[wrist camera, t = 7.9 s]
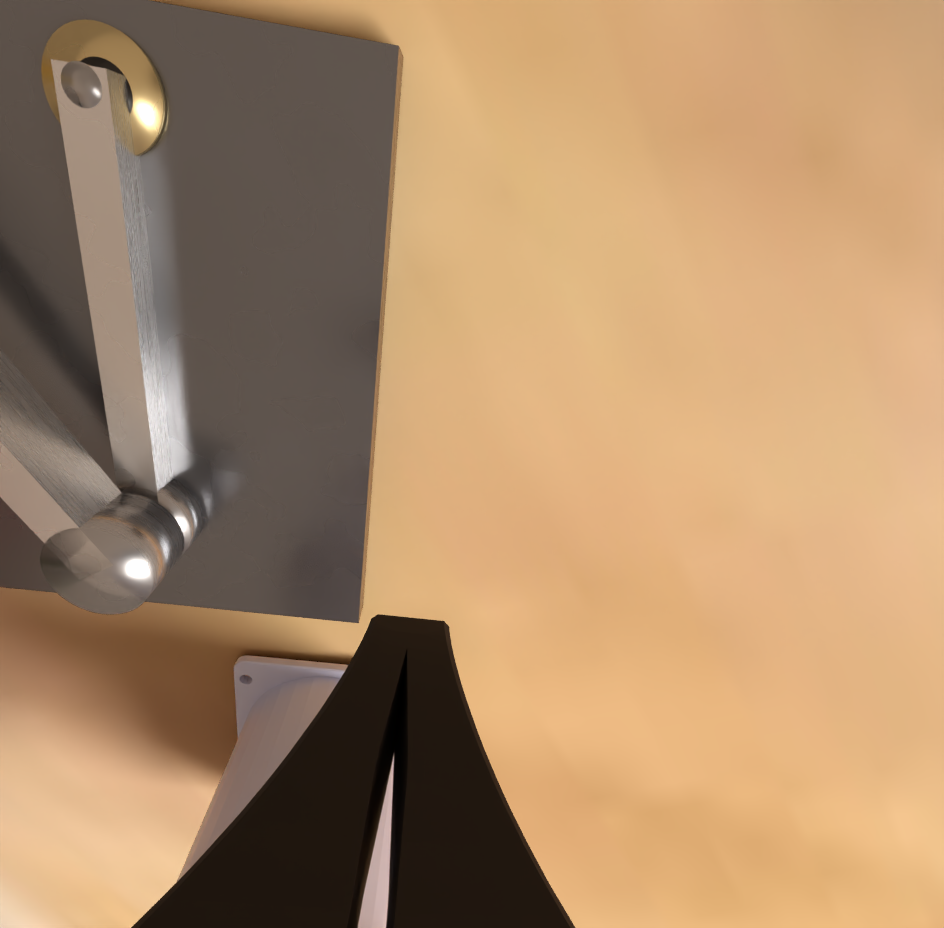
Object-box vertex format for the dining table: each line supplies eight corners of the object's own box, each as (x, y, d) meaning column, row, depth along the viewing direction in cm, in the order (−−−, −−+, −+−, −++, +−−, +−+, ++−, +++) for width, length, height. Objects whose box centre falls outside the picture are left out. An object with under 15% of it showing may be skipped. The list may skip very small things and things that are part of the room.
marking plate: (363, 605, 21) (353, 641, 19) (-121, 555, 20) (-179, 589, 18) (403, 56, 14) (394, 33, 12) (-372, -84, 12) (-515, -134, 11)
